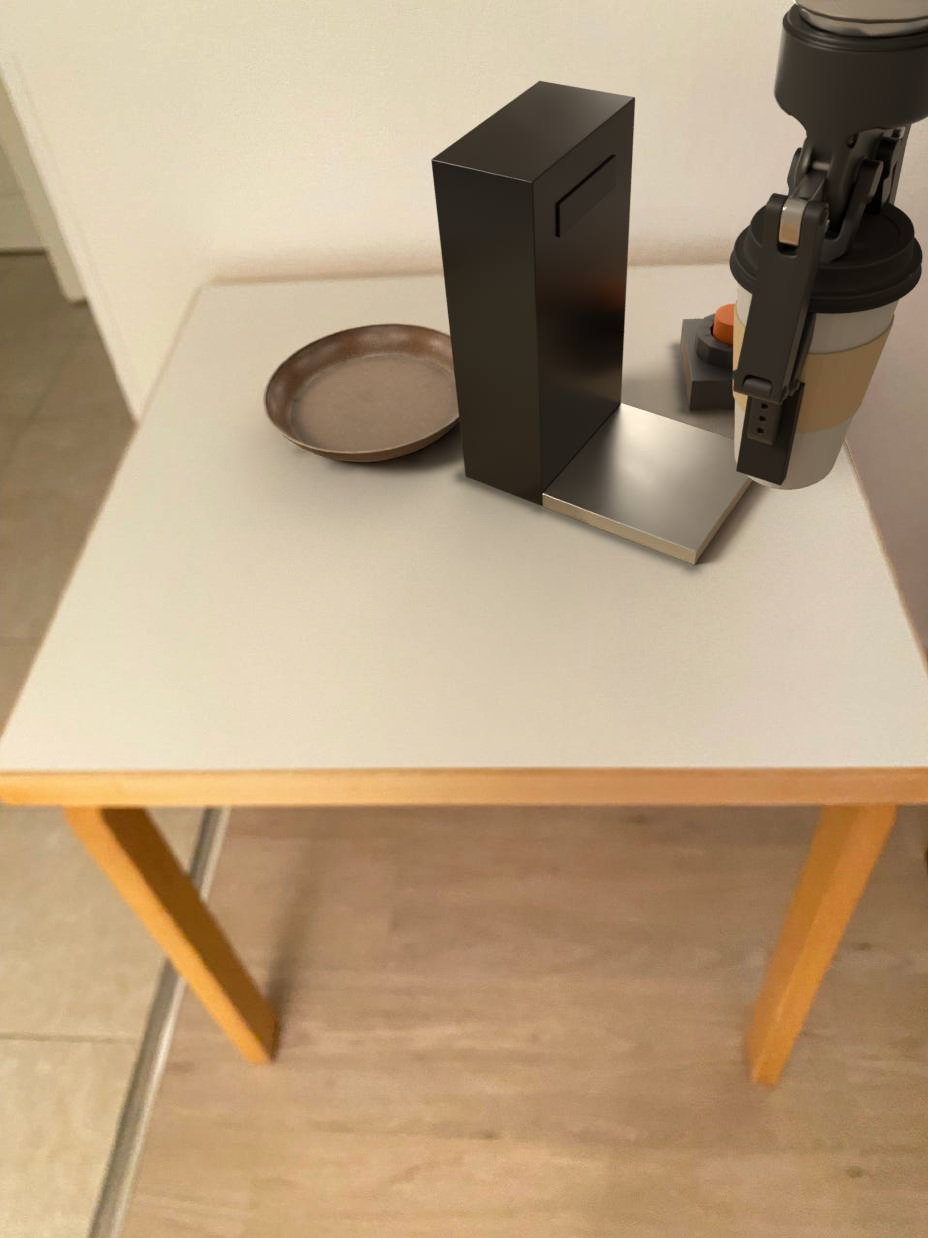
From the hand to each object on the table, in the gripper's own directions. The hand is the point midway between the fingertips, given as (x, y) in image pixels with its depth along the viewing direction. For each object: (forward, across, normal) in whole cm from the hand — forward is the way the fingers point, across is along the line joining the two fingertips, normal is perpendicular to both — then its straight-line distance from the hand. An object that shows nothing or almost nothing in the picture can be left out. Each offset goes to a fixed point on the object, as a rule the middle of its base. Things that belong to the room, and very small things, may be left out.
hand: (790, 431), depth 58 cm
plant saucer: (+18, -8, -42) cm, 46 cm away
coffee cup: (+2, 0, 0) cm, 2 cm away
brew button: (+14, -28, -14) cm, 34 cm away
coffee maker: (+18, -11, -18) cm, 28 cm away
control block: (+18, -28, -14) cm, 37 cm away
